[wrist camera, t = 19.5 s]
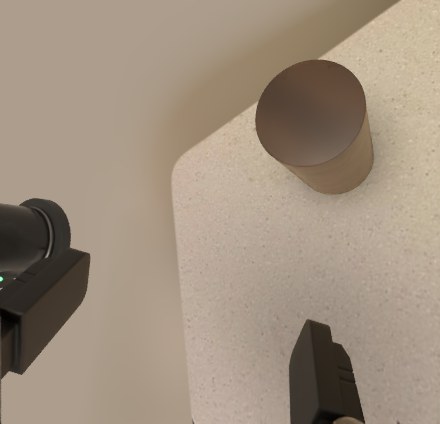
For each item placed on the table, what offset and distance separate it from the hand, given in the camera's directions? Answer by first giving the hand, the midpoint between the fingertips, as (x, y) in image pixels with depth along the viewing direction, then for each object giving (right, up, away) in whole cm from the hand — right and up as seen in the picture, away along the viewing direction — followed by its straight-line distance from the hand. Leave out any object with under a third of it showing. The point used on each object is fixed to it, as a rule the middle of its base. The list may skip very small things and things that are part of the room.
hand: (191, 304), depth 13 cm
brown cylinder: (+12, +8, +22) cm, 26 cm away
